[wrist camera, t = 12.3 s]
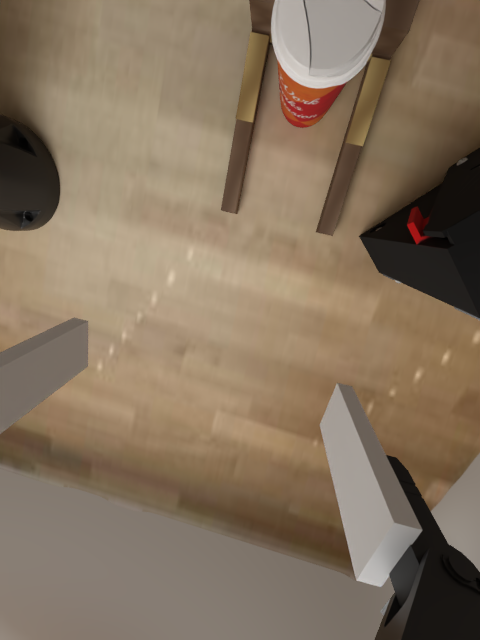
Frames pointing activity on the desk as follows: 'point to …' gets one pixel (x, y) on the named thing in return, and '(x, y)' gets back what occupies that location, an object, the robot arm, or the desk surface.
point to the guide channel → (393, 32)
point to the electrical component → (436, 240)
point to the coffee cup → (321, 51)
